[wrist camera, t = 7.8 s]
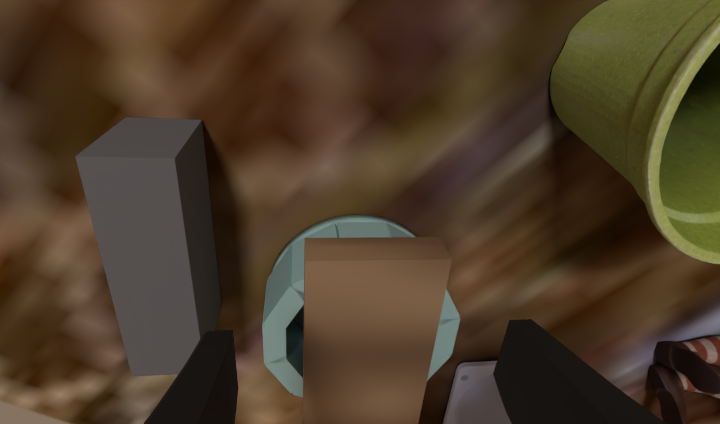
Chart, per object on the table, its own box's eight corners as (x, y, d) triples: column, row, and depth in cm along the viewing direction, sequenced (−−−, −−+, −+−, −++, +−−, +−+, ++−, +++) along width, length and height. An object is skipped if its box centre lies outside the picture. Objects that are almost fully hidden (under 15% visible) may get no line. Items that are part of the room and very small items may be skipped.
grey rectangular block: (221, 304, 22) (205, 372, 19) (161, 306, 22) (132, 376, 18) (201, 119, 18) (174, 158, 14) (125, 117, 17) (75, 156, 13)
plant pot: (480, 27, 18) (618, 61, 10) (701, -108, 16) (1054, -187, 9) (545, 197, 22) (675, 310, 14) (724, 101, 21) (970, 170, 13)
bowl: (421, 344, 26) (441, 400, 22) (271, 350, 24) (266, 411, 21) (446, 214, 22) (474, 258, 18) (265, 213, 20) (259, 261, 17)
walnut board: (407, 414, 22) (414, 442, 21) (302, 421, 22) (302, 451, 20) (439, 236, 17) (452, 259, 16) (304, 237, 17) (305, 261, 15)
